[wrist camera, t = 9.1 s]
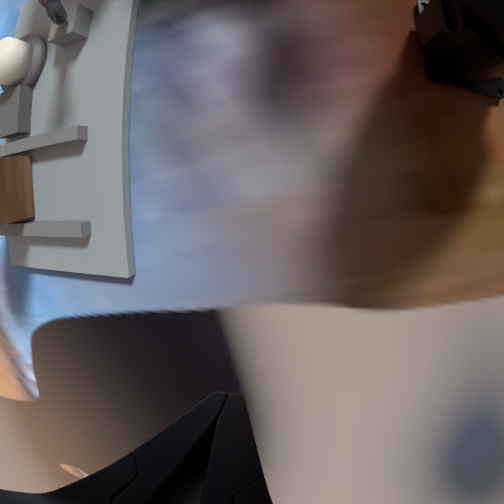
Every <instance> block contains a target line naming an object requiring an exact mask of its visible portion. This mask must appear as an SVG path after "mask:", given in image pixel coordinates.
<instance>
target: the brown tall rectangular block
mask: <svg viewBox="0 0 504 504" xmlns="http://www.w3.org/2000/svg"><path fill="white" fill-rule="evenodd" d="M34 216H35V215H34V202H33V185H32V156H16V157H0V226H1V225H5V224H8V223H12V222H16V221H19V220H23V219H27V218H30V217H34Z"/></svg>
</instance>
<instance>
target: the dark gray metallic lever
mask: <svg viewBox="0 0 504 504" xmlns="http://www.w3.org/2000/svg"><path fill="white" fill-rule="evenodd" d="M38 1H39V3H40V4H41V6H42V7H43V9H44V10H45V12H46V13H47V15H48V16H49V18H50V19H51V20H52V22H53V23H54V24H56V25H60V24H62V23H64V22H65V21H66V19H67V12H66V10H65V9H64V7H63V5H62V3H61V1H60V0H38Z"/></svg>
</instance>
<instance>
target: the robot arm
mask: <svg viewBox="0 0 504 504" xmlns="http://www.w3.org/2000/svg"><path fill="white" fill-rule="evenodd" d="M422 5H424V6H425V8H423V7H422ZM416 8H417V13H418V17H417V18H416V25H417V31H418V38H419V45H420V50H421V51H422V52H423V53H424V62H425V72H426V77H427V79H428V80H429V81H430V82H432V83H436V84H441V85H445V86H450V87H454V88H459V89H463V90H467V91H471V92H474V93H478V94H482V95H485V96H489V97H492V98H496V99H503V98H504V78H503V77H504V0H430V1H426V0H419V1H418V2H417V4H416ZM431 72H432V73H434V74H435V75H436V78H434V77H433V76H432V75H431ZM498 90H499V92H500V95H499V93H498ZM0 504H273V503H272V500H271V498H270V494H269V491H268V488H267V484H266V481H265V478H264V474H263V470H262V467H261V462H260V459H259V455H258V451H257V447H256V443H255V439H254V436H253V431H252V427H251V423H250V419H249V415H248V411H247V407H246V403H245V398H244V396H243V395H241V394H228V393H224V392H214V393H212V394H211V395H209V396H208V397H207V398H206V399H204V400H203V401H201V402H200V403H199V404H197V405H196V406H195V407H194V408H192V409H191V410H190V411H188V412H187V413H186V414H184V415H183V416H181V417H180V418H179V419H177V420H176V421H174V422H173V423H172V424H170V425H169V426H168V427H166V428H165V429H163V430H162V431H161V432H159V433H158V434H156V435H155V436H153V437H152V438H150V439H149V440H148V441H146V442H145V443H143V444H142V445H140V446H139V447H137V448H136V449H134V450H133V452H130V453H128V454H127V455H125V456H124V457H122V458H120V459H119V460H117V461H116V462H114V463H112V464H111V465H109V466H107V467H105V468H103V469H101V470H99V471H97V472H96V473H94V474H91V475H89V476H87V477H85V478H83V479H80V480H78V481H76V482H74V483H71V484H69V485H67V486H64V487H62V488H59V489H57V490H54V491H51V492H47V493H24V492H15V491H9V490H2V489H0Z"/></svg>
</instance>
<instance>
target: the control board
mask: <svg viewBox="0 0 504 504" xmlns="http://www.w3.org/2000/svg"><path fill="white" fill-rule="evenodd" d="M60 1H61V3H62V5H63V7H64V9H65V10H66V12H67V19H66V21H65V22H64V23H62V24H60V25H56V24H54V23H53V22H52V20H51V19H50V18H49V16H48V15H47V13H46V12H45V10H44V9H43V7H42V6H41V4H40V3H39V1H38V0H30V1H28V2H26V3H25V4H23V5H22V6H21V9H20V13H19V17H18V21H17V25H16V29H15V33H14V38H12V37H5V38H3V39H2V40H1V41H0V84H1V87H2V89H3V91H4V93H2V94H1V95H0V139H2V141H1V145H0V157H16V156H32V185H33V202H34V215H35V216H34V217H30V218H27V219H23V220H19V221H16V222H12V223H8V224H5V225H1V226H0V235H6V237H7V244H8V251H9V257H10V263H11V265H15V266H23V267H31V268H39V269H48V270H57V271H66V272H75V273H84V274H94V275H104V276H114V277H125V278H130V277H131V276H133V275H134V274H136V272H135V262H134V251H133V239H132V224H131V206H130V179H129V120H130V94H131V77H132V63H133V52H134V41H135V32H136V24H137V16H138V9H139V2H140V0H60Z"/></svg>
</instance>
